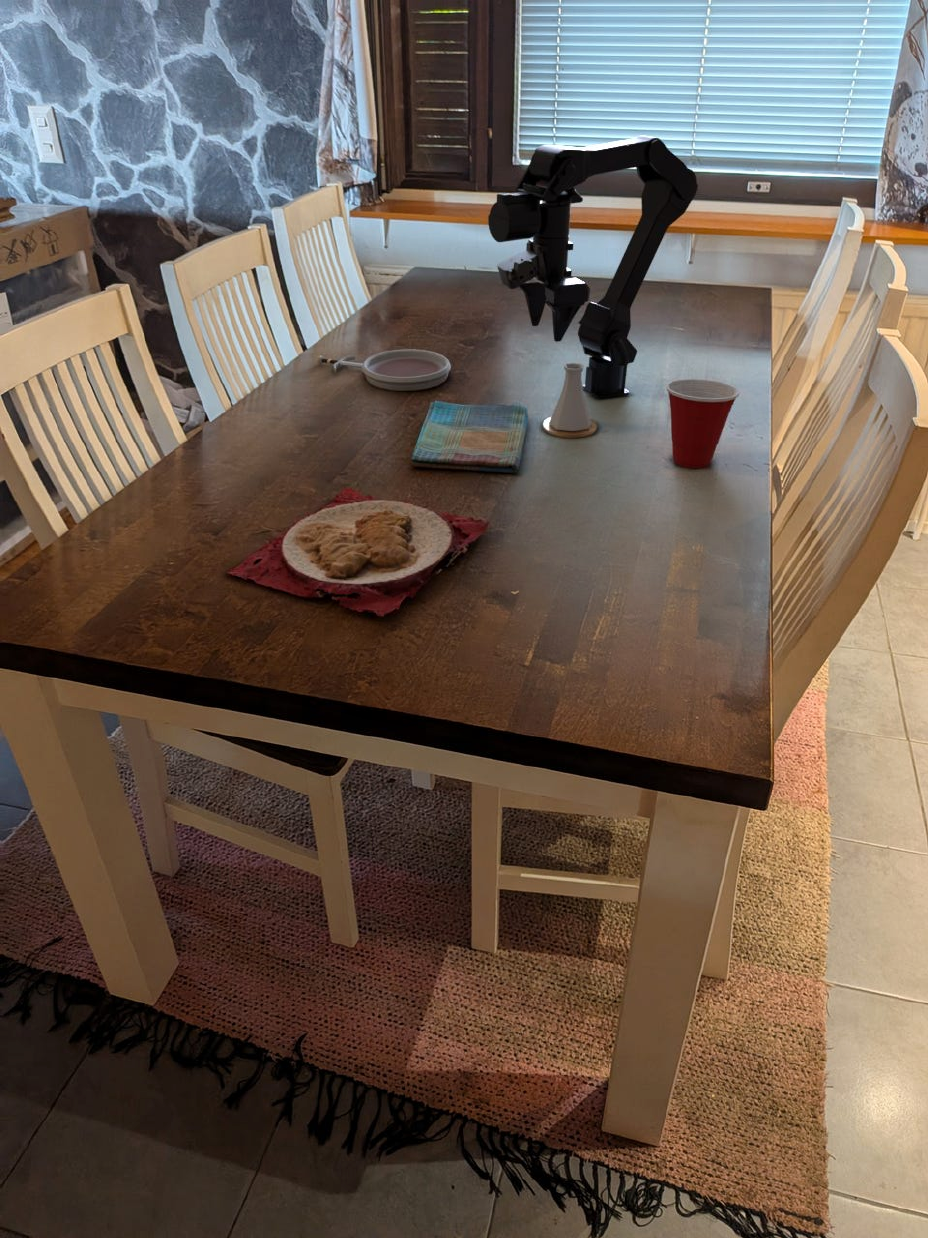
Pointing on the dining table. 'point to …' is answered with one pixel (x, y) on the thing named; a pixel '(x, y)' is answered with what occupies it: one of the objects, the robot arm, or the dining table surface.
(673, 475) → the dining table surface
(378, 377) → the frying pan
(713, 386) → the plastic cup
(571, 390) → the flask
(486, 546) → the dining table surface
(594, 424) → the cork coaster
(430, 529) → the plate with food
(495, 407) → the dish towel
